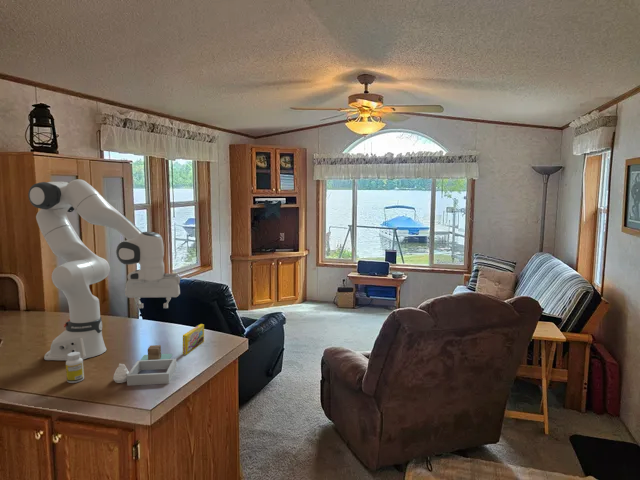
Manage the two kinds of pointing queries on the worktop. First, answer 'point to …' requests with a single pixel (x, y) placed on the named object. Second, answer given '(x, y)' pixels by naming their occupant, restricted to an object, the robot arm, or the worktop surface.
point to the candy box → (193, 339)
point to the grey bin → (151, 378)
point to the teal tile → (163, 356)
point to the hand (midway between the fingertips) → (153, 308)
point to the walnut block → (154, 352)
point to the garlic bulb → (121, 374)
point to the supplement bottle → (74, 367)
